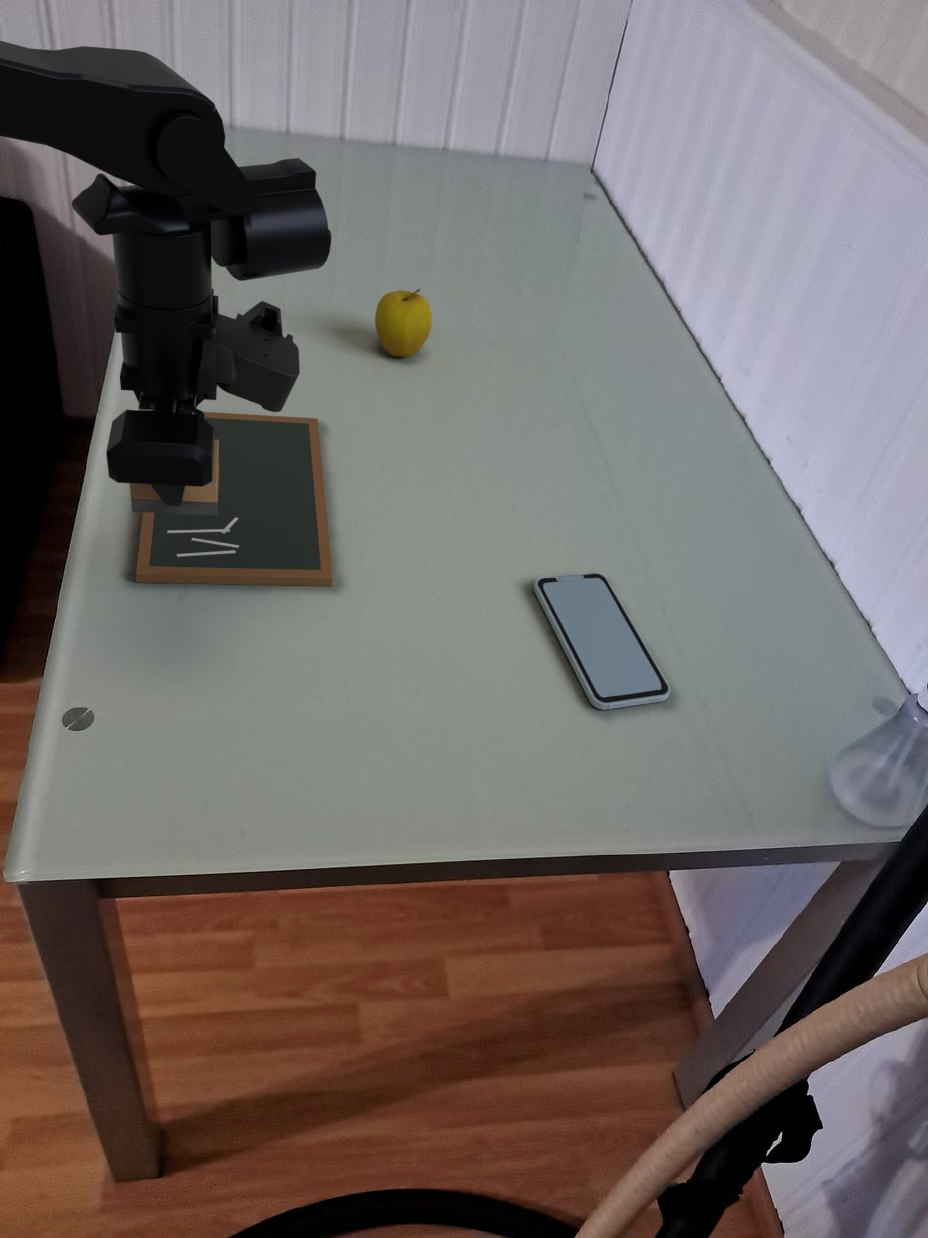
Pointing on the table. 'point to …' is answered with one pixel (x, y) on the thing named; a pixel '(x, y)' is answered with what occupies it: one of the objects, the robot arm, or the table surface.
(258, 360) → the robot arm
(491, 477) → the table surface
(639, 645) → the smartphone
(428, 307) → the apple
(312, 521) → the chalkboard
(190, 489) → the eraser
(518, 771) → the table surface
